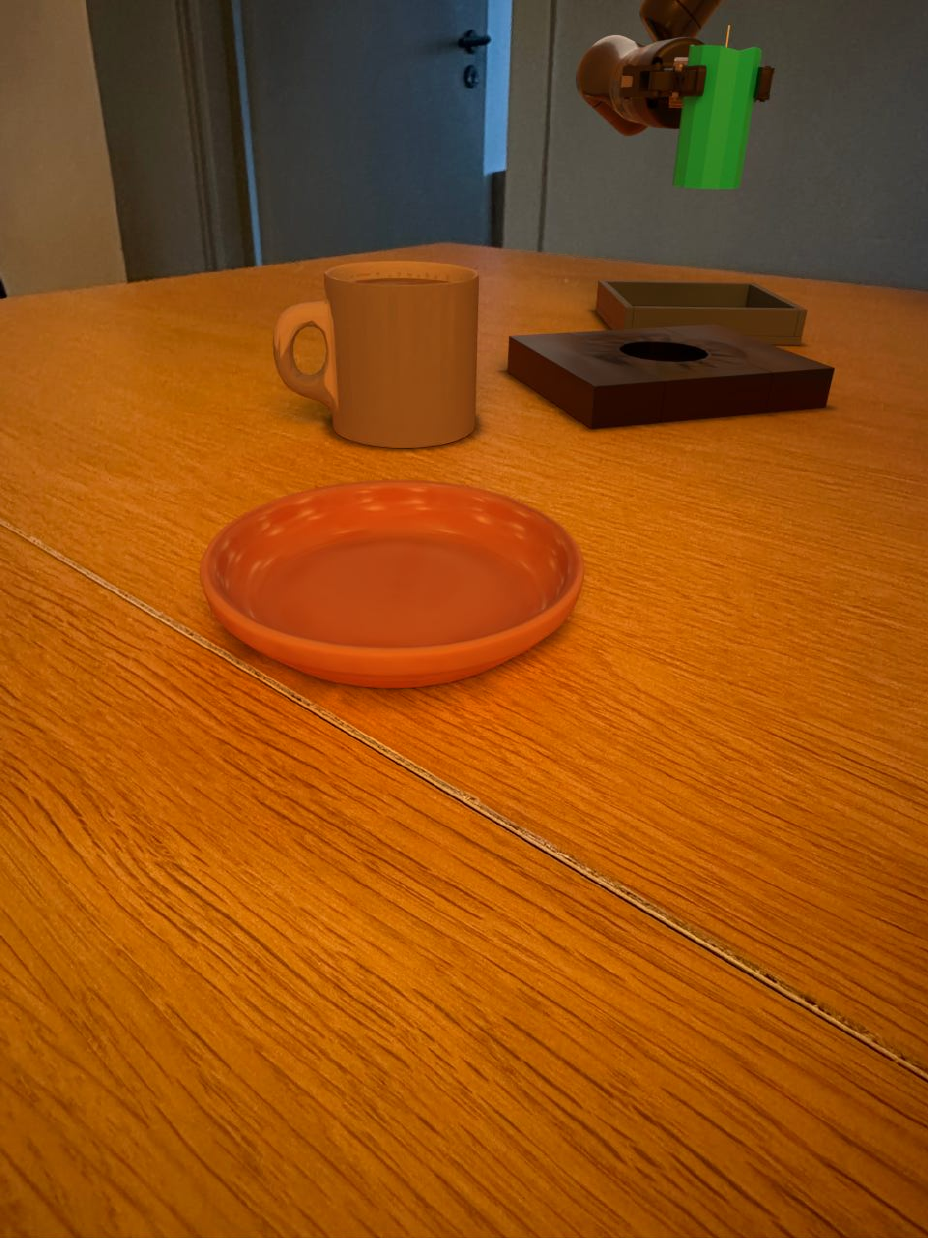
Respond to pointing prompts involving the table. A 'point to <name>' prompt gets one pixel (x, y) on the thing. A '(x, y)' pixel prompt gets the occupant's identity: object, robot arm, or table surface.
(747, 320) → the brown open tray
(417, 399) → the coffee mug
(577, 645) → the table surface
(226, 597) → the saucer
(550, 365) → the dark brown flat block
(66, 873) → the table surface
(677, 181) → the candle
